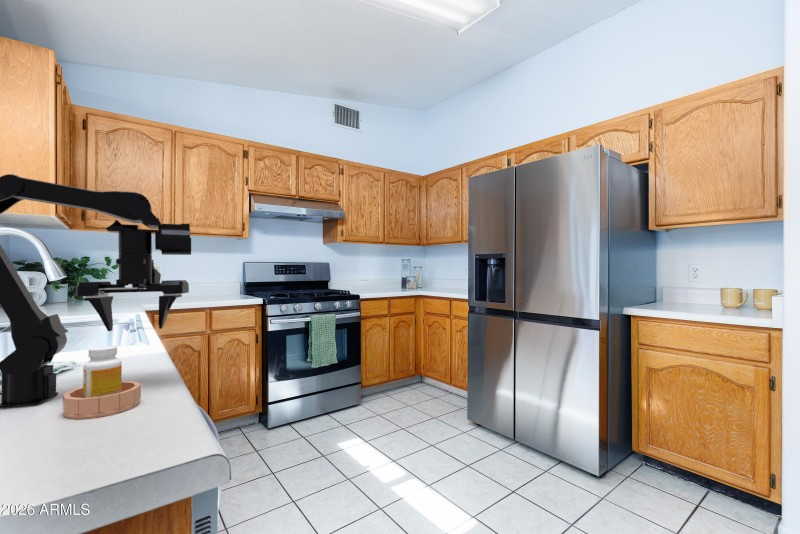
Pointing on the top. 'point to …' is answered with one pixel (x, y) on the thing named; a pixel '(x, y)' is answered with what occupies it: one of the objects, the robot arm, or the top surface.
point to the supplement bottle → (102, 372)
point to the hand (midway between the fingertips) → (135, 329)
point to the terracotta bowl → (101, 402)
